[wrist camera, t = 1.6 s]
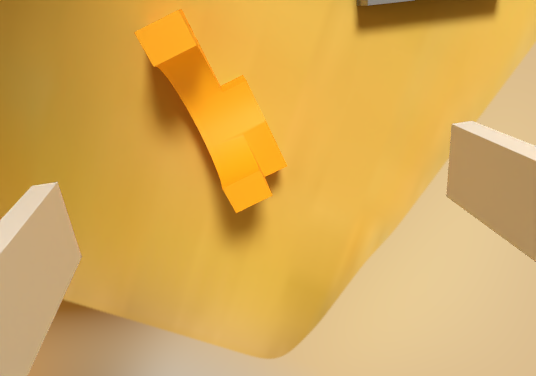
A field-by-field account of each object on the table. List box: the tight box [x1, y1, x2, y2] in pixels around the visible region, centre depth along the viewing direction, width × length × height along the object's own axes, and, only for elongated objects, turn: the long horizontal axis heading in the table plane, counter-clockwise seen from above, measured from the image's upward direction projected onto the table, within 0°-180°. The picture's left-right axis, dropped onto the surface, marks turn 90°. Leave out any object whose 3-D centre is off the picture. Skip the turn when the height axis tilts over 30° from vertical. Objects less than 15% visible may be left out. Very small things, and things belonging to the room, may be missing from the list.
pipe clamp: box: [134, 9, 287, 213], centre depth 28 cm, size 12×4×6 cm, turn 24°
